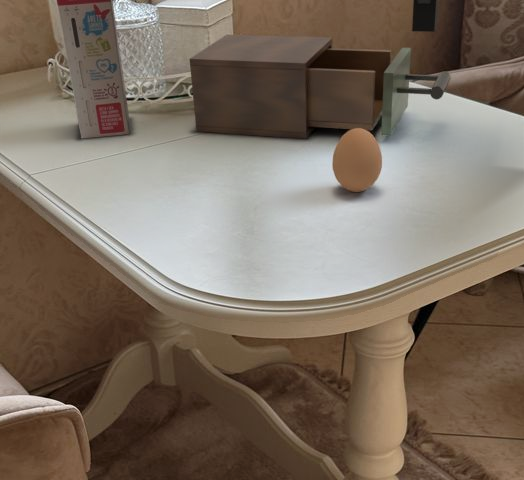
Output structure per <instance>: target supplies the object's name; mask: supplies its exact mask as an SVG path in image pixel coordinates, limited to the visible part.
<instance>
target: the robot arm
mask: <svg viewBox="0 0 524 480" xmlns="http://www.w3.org/2000/svg"><path fill="white" fill-rule="evenodd" d="M412 3H413V4H412V26H411V31H412V32H428V33H429V32H431V33H433V32H436V30H437V20H438V5H439V0H413V2H412Z"/></svg>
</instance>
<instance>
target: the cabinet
mask: <svg viewBox="0 0 524 480" xmlns="http://www.w3.org/2000/svg"><path fill="white" fill-rule="evenodd" d="M327 48H333V37H329V36H327V37H326V36H325V37H324V36H297V35H295V36H294V35H292V36H291V35H262V34H261V35H259V34H258V35H257V34H256V35H255V34H224V35H223V36H222V37H221V38H218V39H217V40H216V41H214V42H213V43H211V44H210V45H208V46H207V47H205V48H204V49H202V50H201V51H199V52H198V53H196V54H195V55H193V56H192V57H190V58H189V67H190V68H189V69H190V80H191V91H192V100H193V110H194V118H195V119H194V122H195V131H196V132H197V133H214V134H229V135H246V136H259V137H275V138H290V139H301V140H302V139H303V140H306V139H308V138H309V136H310V135H311V133H312V132H313V131H314V130H315V129H316V127H308V115H307V67H308V66H309V65H311V64H312V63H313V62H314V61H315V60H316V59H317V58H318V57H319V56H320V55H321V54H322V53H323V52H324V51H325V50H326V49H327Z"/></svg>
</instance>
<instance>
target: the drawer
mask: <svg viewBox="0 0 524 480" xmlns="http://www.w3.org/2000/svg"><path fill="white" fill-rule="evenodd" d="M411 54H412V48H411V47H401V49H399V51H398V53H397V54H396V55H395V57H394V58H393V60H392V50H391V49H367V48H364V49H363V48H336V47H335V48H334V47H332V48H327V49H326V50H325V51H324V52H323V53H322V54H321V55H320V56H319V57H318V58H317V59H316V60H315V61H314V62H313V63H312V64H311V65H309V66H308V67H307V115H308V127H315V128H323V129H326V128H327V129H342V130H351V129H355V128H361V129H365V130H367V131H373V130H374V128H375V126H377V124H378V122H379V121H380V120H381V131H380V132H381V133H380V135H381V136H387V137H390V136H392V134H393V133H394V131H395V129H396V127H397V125H398V124H399V122H400V121H401V119H402V117H403V115H404V113H405V111H406V110H407V108H408V107H409V94H413V95H430V97H431V98H432V99H433V100H439V99H440V100H441V98H442V97H443V96H444V93H445V91H446V89H447V88H448V85H449V83H450V81H451V79H452V77H451V74H450V72H448V71H445V70H444V71H441V72H440V73H439V74H437V75H435V74H414V73H413V74H412V73H410V71H411V58H412V57H411V56H412V55H411ZM410 81H423V82H425V81H427V82H434V83H433V85H432V87H431V88H427V87H410Z"/></svg>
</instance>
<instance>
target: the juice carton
mask: <svg viewBox="0 0 524 480" xmlns="http://www.w3.org/2000/svg"><path fill="white" fill-rule="evenodd" d="M56 5H57V11H58V15H59V16H58V17H59V21H60V27H61V32H62V33H61V34H62V38H63V42H64V44H63V45H64V49H65V55H66V60H67V66H68V71H69V78H70V82H71V89H72V95H73V99H74V105H75V106H74V107H75V112H76V116H77V122H78V127H79V128H78V129H79V133H80V138H81V139H90V138H102V137H113V136H121V135H131V123H130V122H131V121H130V114H129V107H128V99H127V92H126V85H125V79H124V71H123V63H122V57H121V51H120V45H119V44H120V43H119V36H118V35H119V34H118V30H117V21H116V15H115V7H114V1H113V0H56Z"/></svg>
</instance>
